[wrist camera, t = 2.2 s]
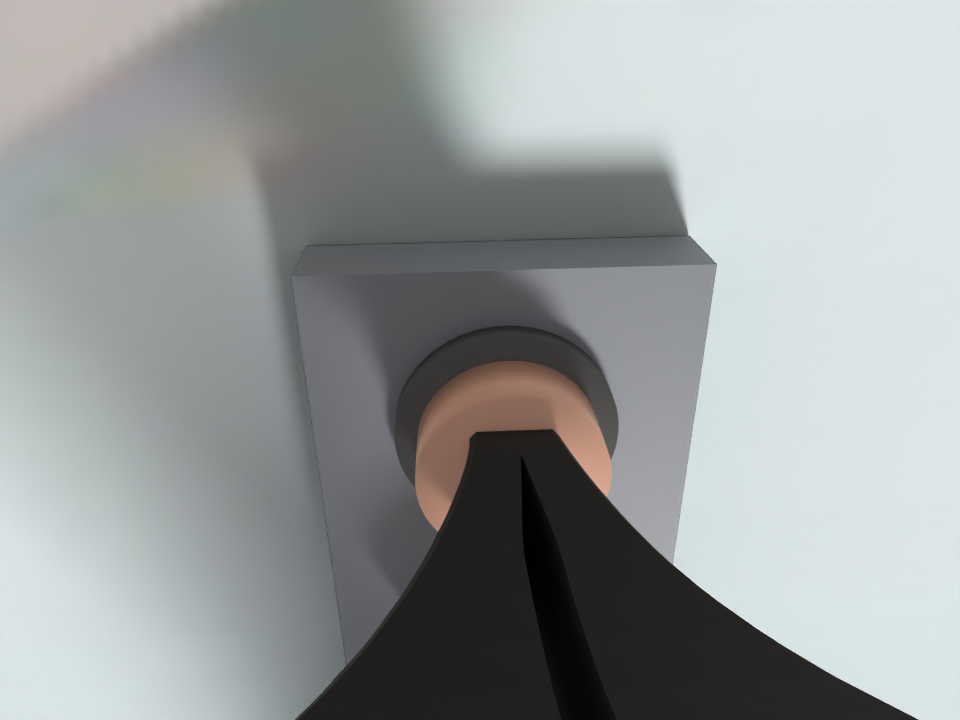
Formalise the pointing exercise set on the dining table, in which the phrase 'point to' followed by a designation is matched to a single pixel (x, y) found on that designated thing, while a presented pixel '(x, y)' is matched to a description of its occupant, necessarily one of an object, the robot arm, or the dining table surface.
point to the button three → (501, 425)
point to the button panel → (480, 340)
